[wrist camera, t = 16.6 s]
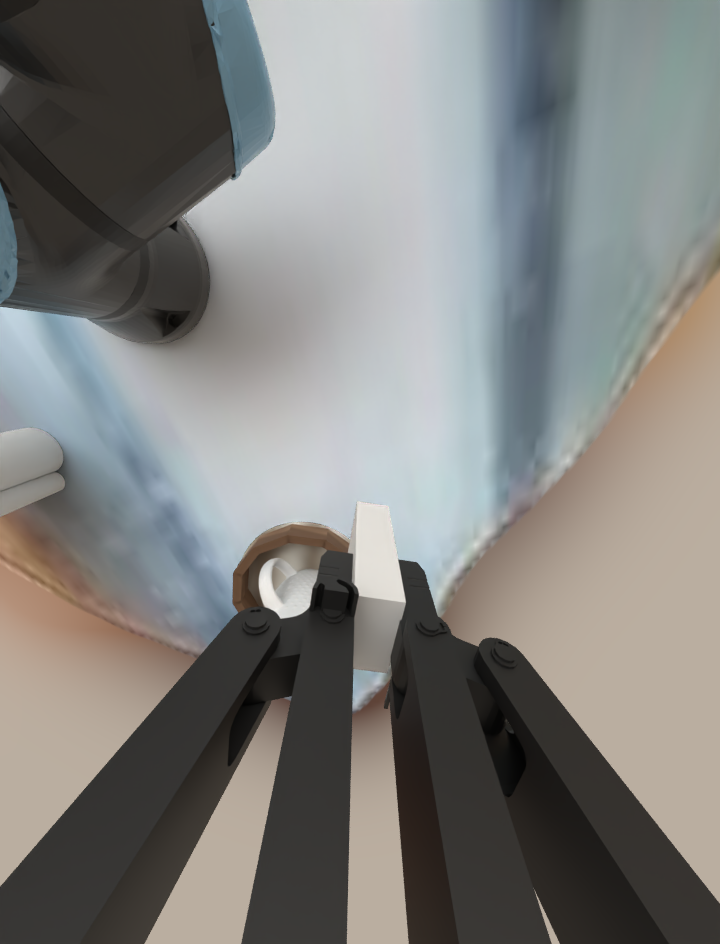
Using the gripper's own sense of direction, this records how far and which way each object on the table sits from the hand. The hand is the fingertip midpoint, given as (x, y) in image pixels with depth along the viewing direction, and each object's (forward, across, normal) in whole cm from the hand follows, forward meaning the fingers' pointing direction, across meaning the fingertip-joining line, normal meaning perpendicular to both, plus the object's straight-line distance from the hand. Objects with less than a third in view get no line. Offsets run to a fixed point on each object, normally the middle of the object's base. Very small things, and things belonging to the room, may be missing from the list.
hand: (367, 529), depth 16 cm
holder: (+29, -5, -26) cm, 39 cm away
